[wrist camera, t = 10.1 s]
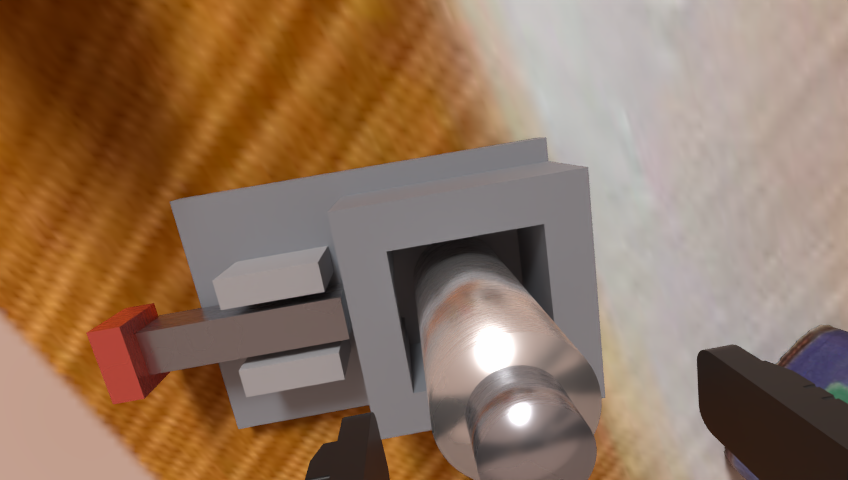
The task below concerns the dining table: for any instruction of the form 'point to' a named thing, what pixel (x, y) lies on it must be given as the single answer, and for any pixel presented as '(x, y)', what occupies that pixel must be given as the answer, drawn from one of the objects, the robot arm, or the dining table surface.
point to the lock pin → (210, 337)
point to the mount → (387, 268)
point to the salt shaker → (500, 371)
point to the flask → (814, 369)
